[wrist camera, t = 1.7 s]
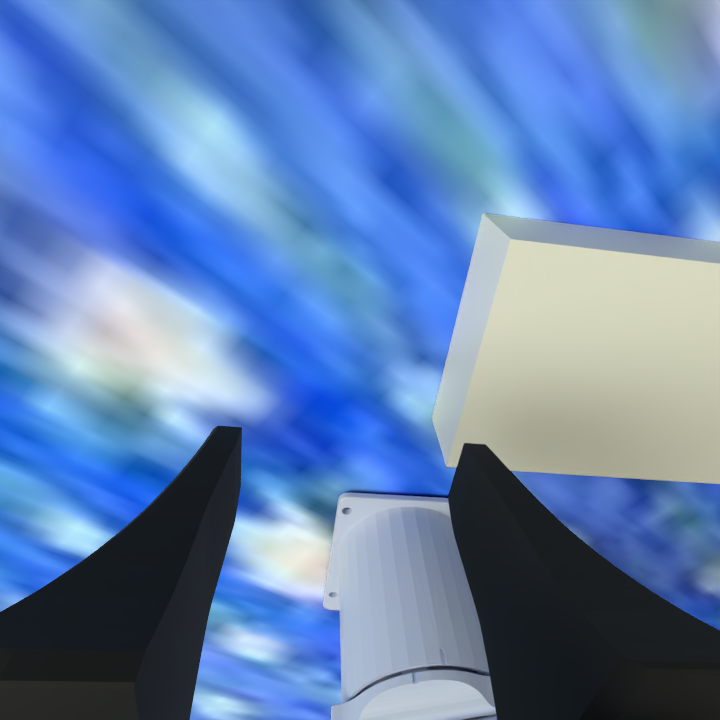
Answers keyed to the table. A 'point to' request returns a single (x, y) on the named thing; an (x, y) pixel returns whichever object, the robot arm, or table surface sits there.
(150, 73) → the table surface
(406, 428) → the table surface
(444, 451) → the cream rectangular block
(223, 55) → the table surface
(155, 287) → the table surface
